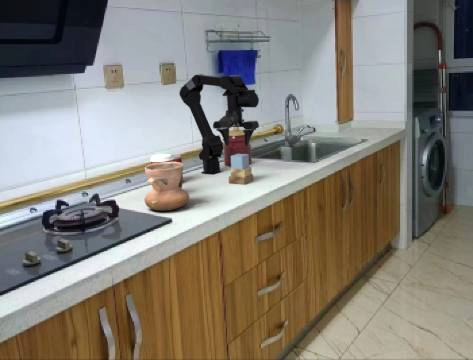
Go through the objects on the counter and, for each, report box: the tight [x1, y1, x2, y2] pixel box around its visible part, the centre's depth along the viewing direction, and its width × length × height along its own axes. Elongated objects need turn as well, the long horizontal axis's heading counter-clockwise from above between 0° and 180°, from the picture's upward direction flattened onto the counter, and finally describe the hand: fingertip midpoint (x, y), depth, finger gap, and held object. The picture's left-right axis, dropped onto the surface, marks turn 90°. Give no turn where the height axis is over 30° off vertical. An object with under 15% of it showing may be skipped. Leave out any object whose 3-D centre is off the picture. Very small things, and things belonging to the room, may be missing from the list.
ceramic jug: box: [144, 162, 190, 212], centre depth 161 cm, size 18×14×14 cm
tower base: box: [228, 173, 254, 186], centre depth 192 cm, size 7×7×3 cm
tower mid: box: [230, 166, 253, 178], centre depth 192 cm, size 6×6×3 cm
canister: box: [222, 127, 253, 167], centre depth 227 cm, size 13×13×18 cm
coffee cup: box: [149, 153, 174, 164], centre depth 174 cm, size 8×8×15 cm
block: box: [230, 154, 250, 170], centre depth 191 cm, size 5×5×5 cm
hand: (236, 145), depth 201 cm, fingers open, 9 cm apart
